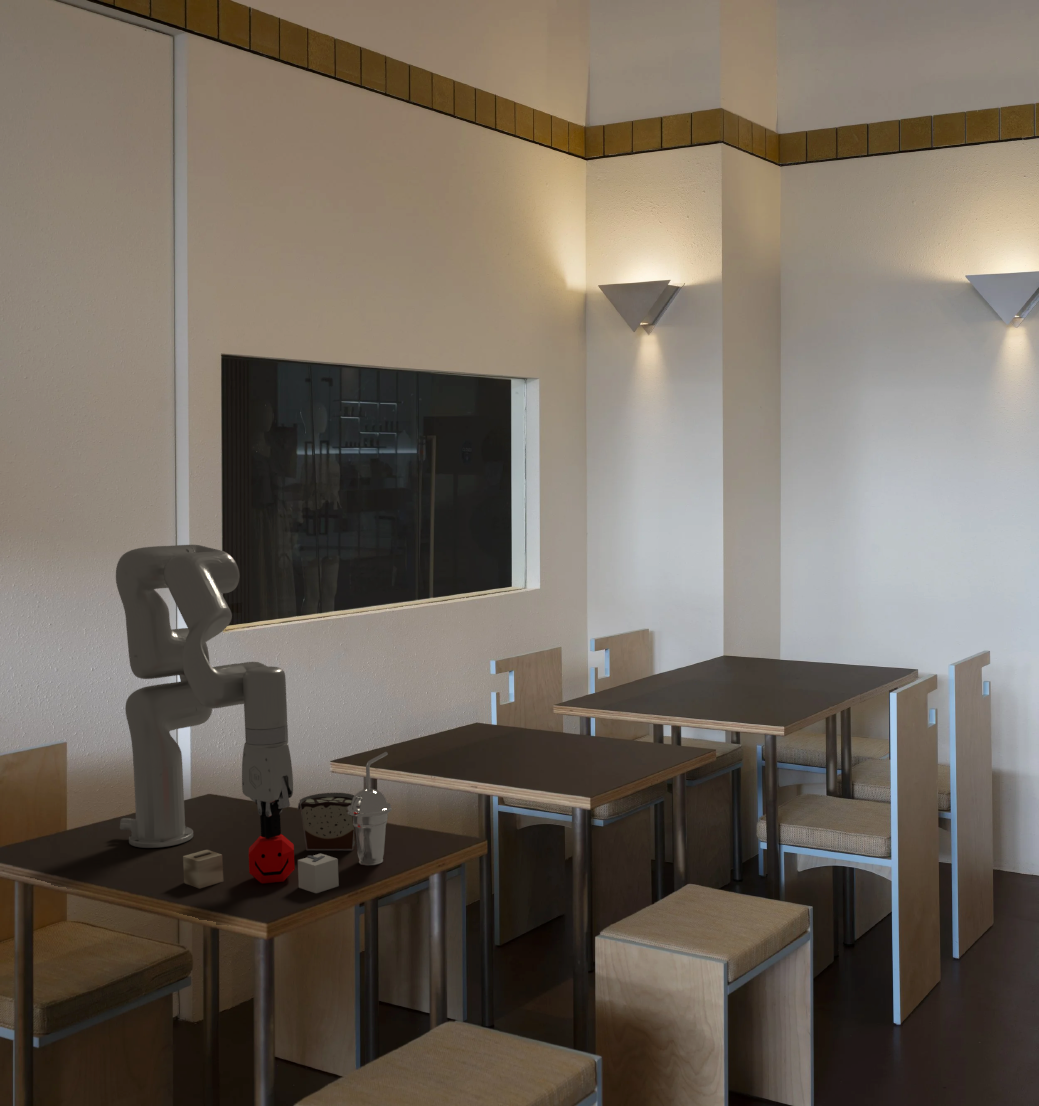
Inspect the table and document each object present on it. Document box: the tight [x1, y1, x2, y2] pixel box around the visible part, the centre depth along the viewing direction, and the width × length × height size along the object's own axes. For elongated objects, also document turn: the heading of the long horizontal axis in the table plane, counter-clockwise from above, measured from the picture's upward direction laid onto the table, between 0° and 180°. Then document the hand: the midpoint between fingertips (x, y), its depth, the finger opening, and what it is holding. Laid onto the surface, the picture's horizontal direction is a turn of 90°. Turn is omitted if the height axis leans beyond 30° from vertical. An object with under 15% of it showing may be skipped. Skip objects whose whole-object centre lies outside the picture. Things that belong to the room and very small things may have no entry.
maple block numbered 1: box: [182, 849, 224, 889], centre depth 221 cm, size 5×5×5 cm
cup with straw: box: [346, 751, 393, 866], centre depth 229 cm, size 8×9×20 cm
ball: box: [248, 833, 296, 884], centre depth 221 cm, size 8×8×8 cm
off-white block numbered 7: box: [297, 853, 340, 894], centre depth 216 cm, size 5×5×5 cm
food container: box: [297, 792, 356, 851], centre depth 241 cm, size 12×6×10 cm, turn 84°
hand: (271, 835), depth 221 cm, fingers closed
